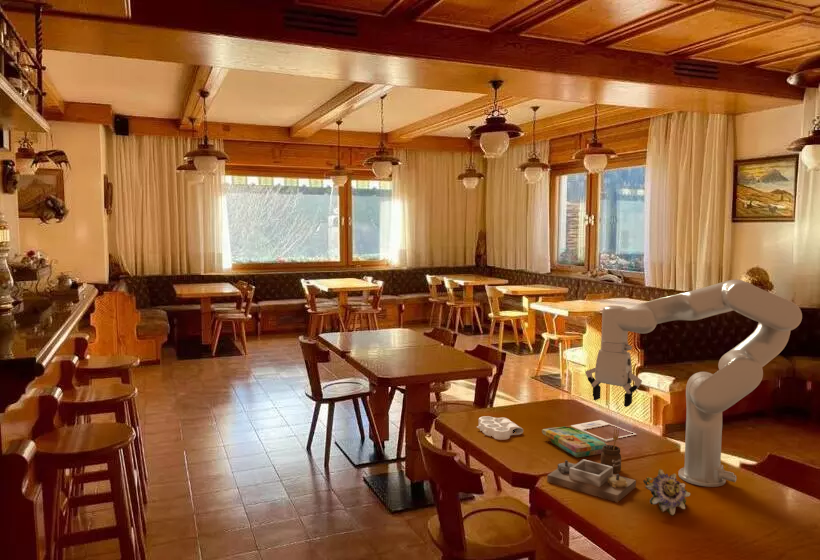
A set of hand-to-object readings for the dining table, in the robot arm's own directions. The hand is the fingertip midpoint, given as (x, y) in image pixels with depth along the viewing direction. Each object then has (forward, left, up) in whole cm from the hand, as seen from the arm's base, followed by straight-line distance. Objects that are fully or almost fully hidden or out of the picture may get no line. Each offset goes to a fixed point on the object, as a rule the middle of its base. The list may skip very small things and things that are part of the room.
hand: (611, 402), depth 186 cm
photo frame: (+17, -33, -22) cm, 43 cm away
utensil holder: (0, 0, -21) cm, 21 cm away
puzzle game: (+18, -11, -21) cm, 30 cm away
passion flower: (-21, +15, -21) cm, 34 cm away
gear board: (0, +14, -21) cm, 25 cm away
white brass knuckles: (+46, -8, -22) cm, 51 cm away
